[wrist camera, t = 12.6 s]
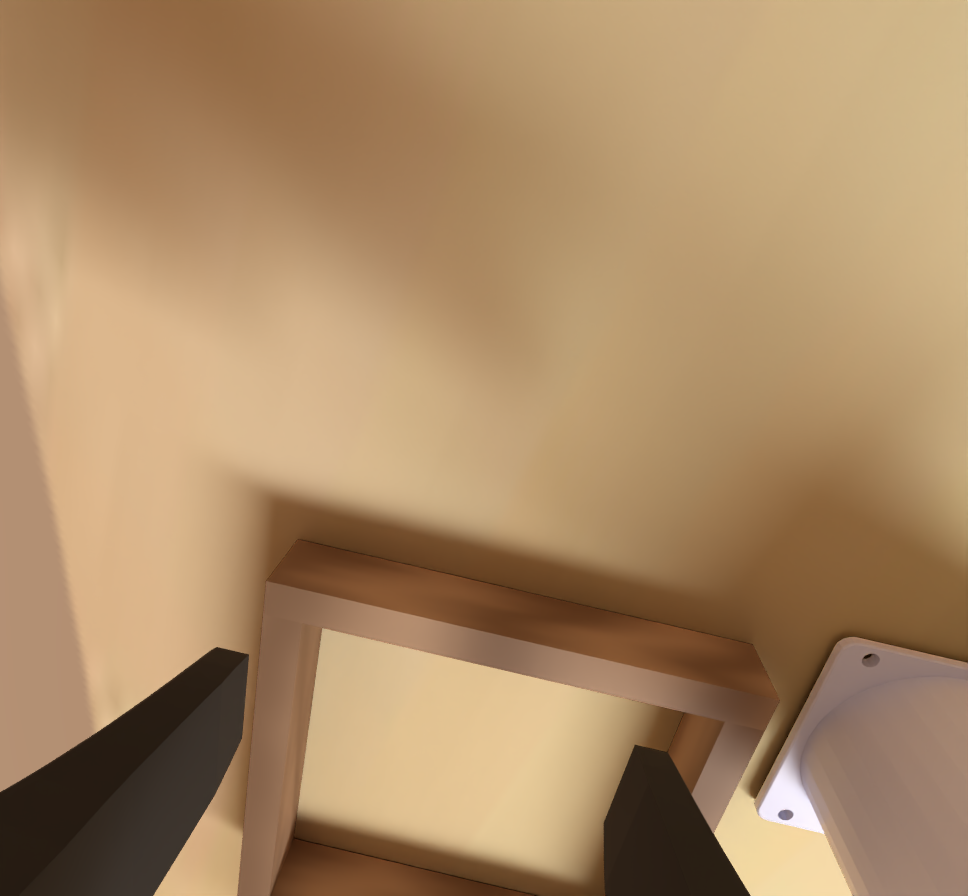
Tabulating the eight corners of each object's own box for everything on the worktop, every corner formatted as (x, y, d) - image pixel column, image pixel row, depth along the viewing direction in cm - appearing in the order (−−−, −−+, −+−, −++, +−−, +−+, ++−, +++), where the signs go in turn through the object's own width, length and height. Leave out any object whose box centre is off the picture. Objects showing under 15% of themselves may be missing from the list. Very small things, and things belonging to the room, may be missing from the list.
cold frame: (752, 644, 20) (779, 700, 18) (619, 935, 26) (627, 1007, 24) (297, 539, 20) (266, 581, 18) (263, 851, 26) (235, 913, 24)
